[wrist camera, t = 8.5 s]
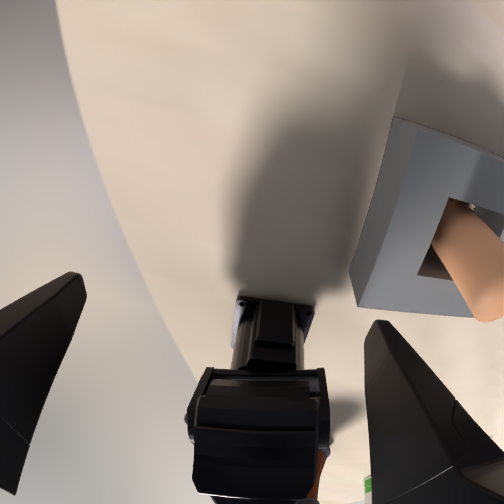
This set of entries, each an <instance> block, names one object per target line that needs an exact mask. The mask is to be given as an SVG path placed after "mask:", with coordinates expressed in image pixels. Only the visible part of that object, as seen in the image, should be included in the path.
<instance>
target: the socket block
mask: <svg viewBox="0 0 504 504" xmlns="http://www.w3.org/2000/svg"><path fill="white" fill-rule="evenodd" d="M449 197H450V198H453V199H457V200H460V201H463V202H467V203H470V204H473V205H476V207H475V210H474V212H475V213H476V214H477V215H478V216H479V217H480V218H481V219H482V220H483V222H484V223H485V224H486V225H487V226H488V227H489V228H490V229H491V230H492V231H493V232H494V233H495V234H496V235H497V236H498V237H499V239H500V240H501V241H502V242H503V243H504V158H503V157H501V156H498V155H496V154H494V153H492V152H490V151H487V150H485V149H483V148H481V147H478V146H476V145H473V144H471V143H469V142H466V141H464V140H461V139H459V138H456V137H453V136H451V135H448V134H445V133H443V132H440V131H437V130H434V129H431V128H428V127H425V126H423V125H419V124H416V123H413V122H410V121H407V120H404V119H400V118H397V117H394V116H393V120H392V125H391V129H390V133H389V138H388V142H387V146H386V150H385V154H384V158H383V162H382V165H381V169H380V173H379V177H378V180H377V184H376V187H375V191H374V194H373V198H372V201H371V205H370V208H369V211H368V215H367V218H366V221H365V224H364V228H363V231H362V234H361V237H360V240H359V243H358V246H357V249H356V252H355V255H354V258H353V261H352V264H351V267H350V269H349V275H350V279H351V283H352V287H353V291H354V295H355V299H356V303H357V307H361V308H370V309H379V310H389V311H399V312H409V313H420V314H432V315H443V316H456V317H470V318H474V316H473V314H472V312H471V310H470V309H469V307H468V305H467V303H466V301H465V300H464V298H463V296H462V294H461V293H460V291H459V289H458V287H457V286H456V284H455V282H454V281H453V279H452V277H451V276H450V274H449V272H448V271H447V269H446V267H445V266H444V264H443V263H442V261H441V260H440V258H439V256H438V255H437V253H436V252H435V250H434V249H429V246H430V244H431V242H432V239H433V237H434V234H435V232H436V229H437V227H438V224H439V222H440V219H441V217H442V214H443V211H444V209H445V206H446V203H447V200H448V198H449Z"/></svg>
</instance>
